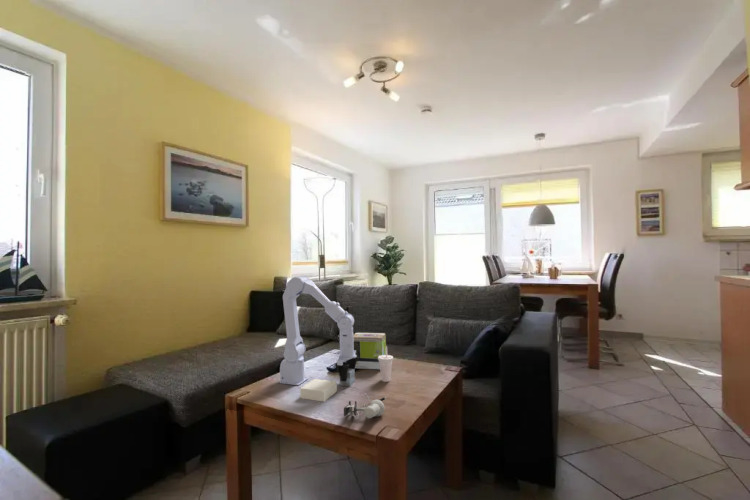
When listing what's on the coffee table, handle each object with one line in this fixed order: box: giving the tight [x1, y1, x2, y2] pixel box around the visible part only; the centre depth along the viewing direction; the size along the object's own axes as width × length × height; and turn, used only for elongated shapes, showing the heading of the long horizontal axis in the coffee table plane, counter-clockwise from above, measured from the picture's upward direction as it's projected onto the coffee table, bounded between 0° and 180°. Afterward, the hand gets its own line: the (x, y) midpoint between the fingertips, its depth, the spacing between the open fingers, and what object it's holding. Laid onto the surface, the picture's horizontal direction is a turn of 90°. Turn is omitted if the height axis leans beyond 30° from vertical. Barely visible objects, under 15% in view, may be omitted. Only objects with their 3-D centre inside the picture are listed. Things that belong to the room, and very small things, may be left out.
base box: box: [299, 378, 338, 403], centre depth 133 cm, size 10×10×4 cm
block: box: [339, 368, 356, 387], centre depth 143 cm, size 5×5×6 cm
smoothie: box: [378, 345, 394, 383], centre depth 146 cm, size 6×6×14 cm
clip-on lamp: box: [343, 392, 388, 420], centre depth 117 cm, size 12×6×18 cm
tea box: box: [353, 332, 387, 370], centre depth 165 cm, size 15×10×15 cm
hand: (347, 377), depth 143 cm, fingers open, 7 cm apart
